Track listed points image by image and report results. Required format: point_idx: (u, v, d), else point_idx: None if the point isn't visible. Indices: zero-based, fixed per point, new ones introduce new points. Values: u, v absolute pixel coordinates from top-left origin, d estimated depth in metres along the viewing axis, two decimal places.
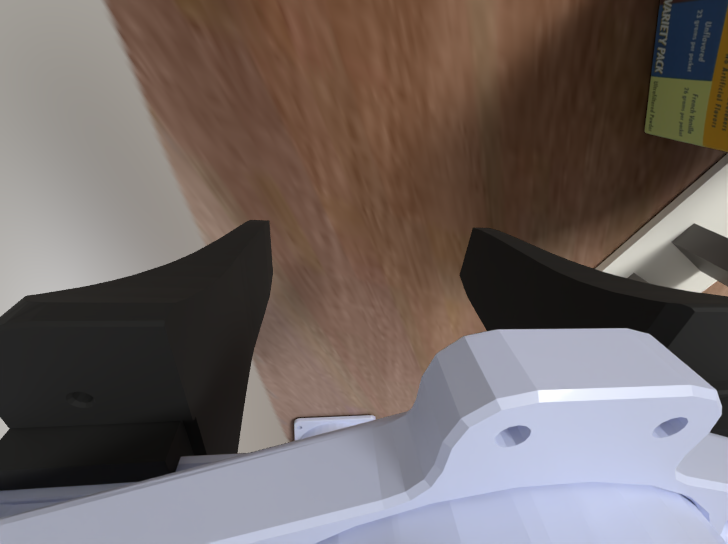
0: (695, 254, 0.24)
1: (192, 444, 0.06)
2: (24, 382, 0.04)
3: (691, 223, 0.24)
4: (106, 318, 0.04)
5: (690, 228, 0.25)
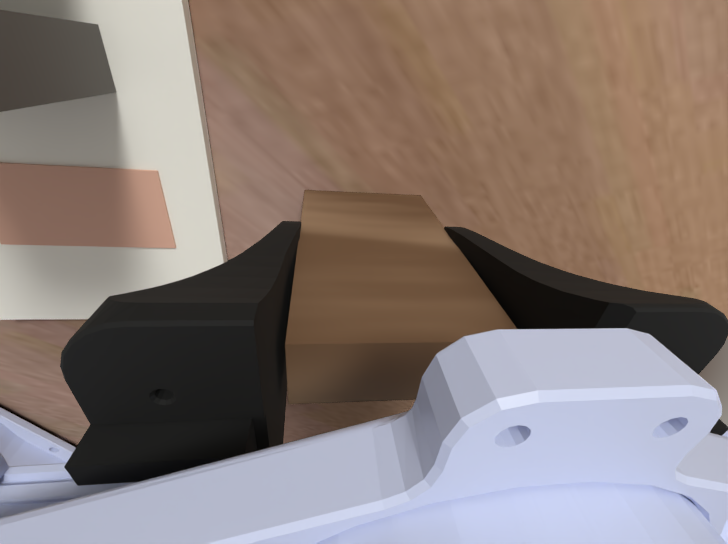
0: None
1: (256, 442, 0.06)
2: (114, 380, 0.04)
3: None
4: (198, 317, 0.04)
5: None
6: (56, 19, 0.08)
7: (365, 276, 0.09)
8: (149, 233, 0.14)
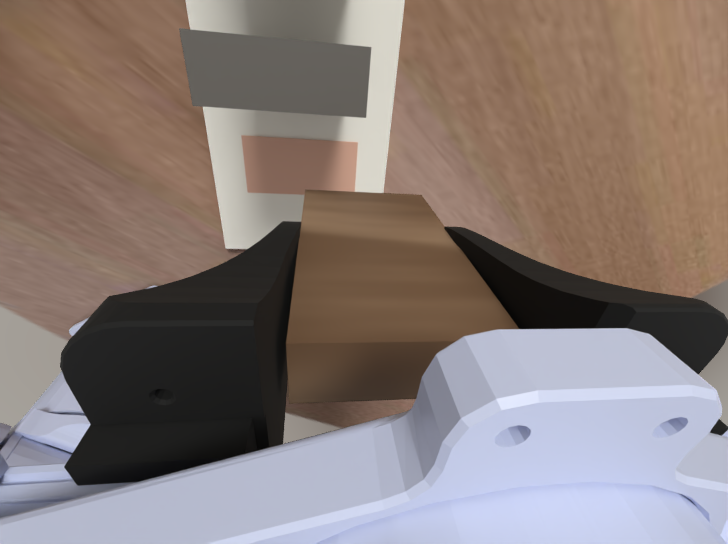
0: None
1: (256, 441, 0.06)
2: (112, 380, 0.04)
3: None
4: (197, 317, 0.04)
5: None
6: None
7: (367, 275, 0.09)
8: (340, 185, 0.20)
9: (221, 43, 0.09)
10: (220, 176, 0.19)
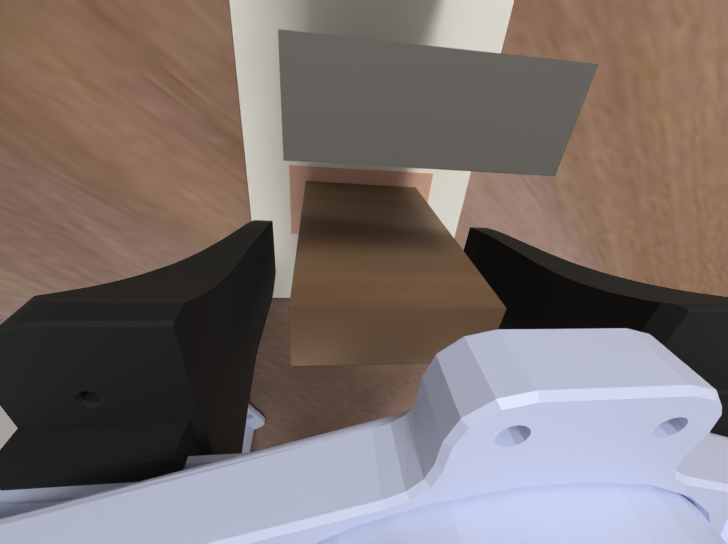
0: None
1: (199, 444, 0.06)
2: (33, 382, 0.04)
3: None
4: (115, 318, 0.04)
5: None
6: None
7: (362, 253, 0.09)
8: None
9: (348, 56, 0.05)
10: (258, 214, 0.15)
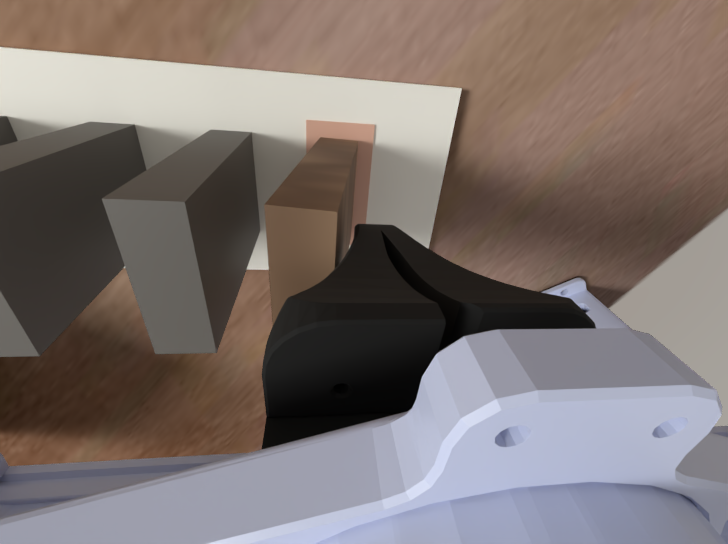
0: None
1: None
2: (305, 375, 0.05)
3: None
4: (395, 317, 0.04)
5: None
6: (198, 137, 0.14)
7: None
8: (359, 143, 0.16)
9: (155, 329, 0.10)
10: None
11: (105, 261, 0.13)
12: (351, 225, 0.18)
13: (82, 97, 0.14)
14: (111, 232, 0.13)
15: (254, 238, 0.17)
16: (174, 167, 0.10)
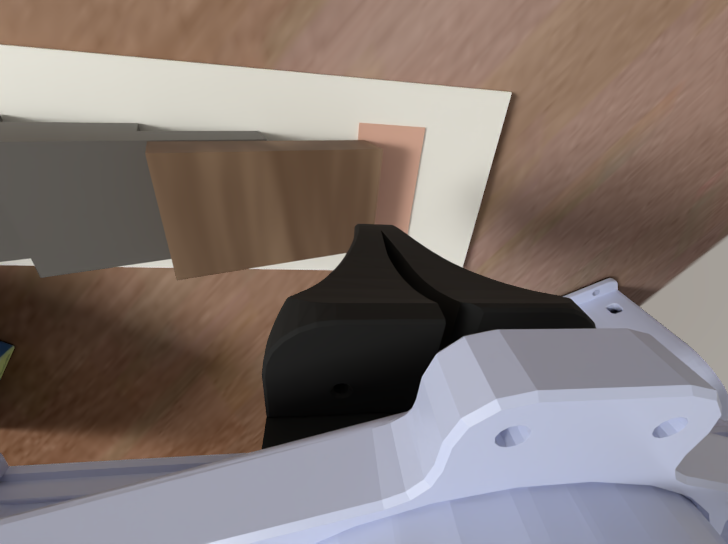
0: None
1: None
2: (305, 375, 0.05)
3: None
4: (395, 317, 0.04)
5: None
6: (213, 131, 0.15)
7: None
8: (408, 145, 0.16)
9: None
10: None
11: None
12: None
13: (144, 100, 0.14)
14: None
15: None
16: (88, 134, 0.12)
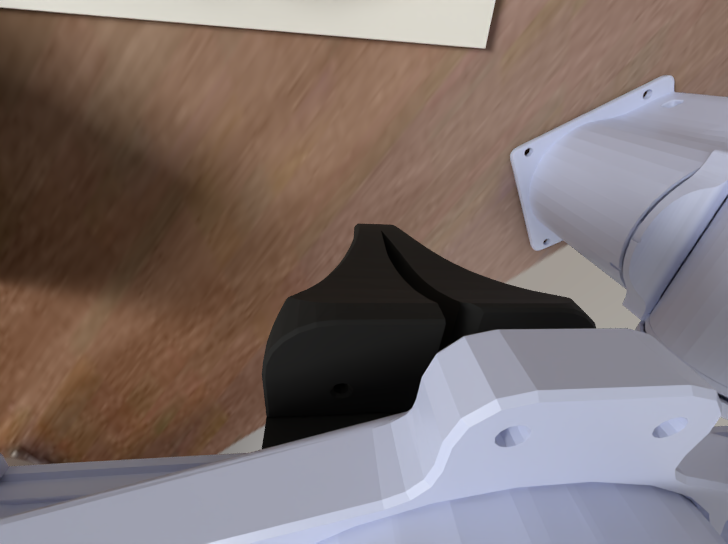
0: None
1: None
2: (306, 375, 0.05)
3: None
4: (395, 317, 0.04)
5: None
6: None
7: None
8: None
9: None
10: (395, 32, 0.17)
11: None
12: None
13: None
14: None
15: None
16: None
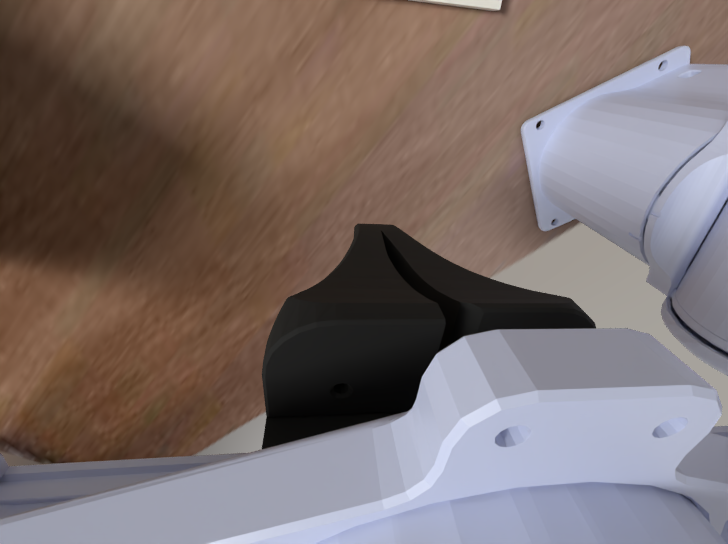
0: None
1: None
2: (305, 375, 0.05)
3: None
4: (395, 316, 0.04)
5: None
6: None
7: None
8: None
9: None
10: None
11: None
12: None
13: None
14: None
15: None
16: None
